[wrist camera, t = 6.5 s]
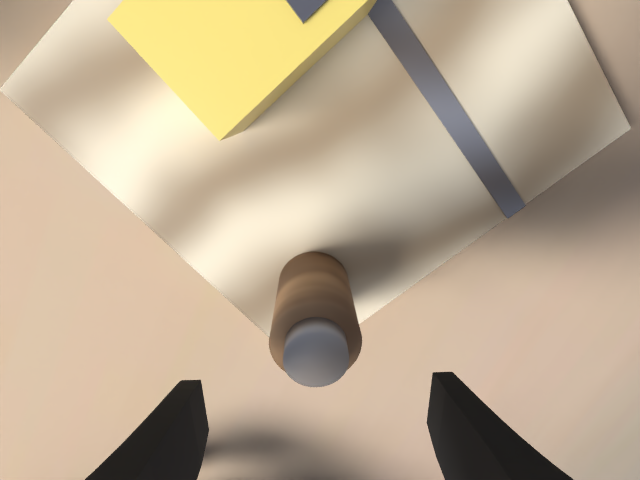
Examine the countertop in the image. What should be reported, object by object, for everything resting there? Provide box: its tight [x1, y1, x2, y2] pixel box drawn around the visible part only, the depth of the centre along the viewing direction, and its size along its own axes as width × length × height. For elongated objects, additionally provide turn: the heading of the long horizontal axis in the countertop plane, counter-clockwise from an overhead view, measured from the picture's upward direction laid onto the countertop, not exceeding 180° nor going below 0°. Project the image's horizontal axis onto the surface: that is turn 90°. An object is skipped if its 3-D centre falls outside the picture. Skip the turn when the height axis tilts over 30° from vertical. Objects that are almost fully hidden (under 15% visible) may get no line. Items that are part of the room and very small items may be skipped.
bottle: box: [269, 252, 362, 387], centre depth 16 cm, size 4×4×6 cm
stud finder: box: [107, 0, 377, 141], centre depth 12 cm, size 4×7×5 cm, turn 130°
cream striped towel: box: [0, 0, 631, 337], centre depth 16 cm, size 19×20×1 cm
